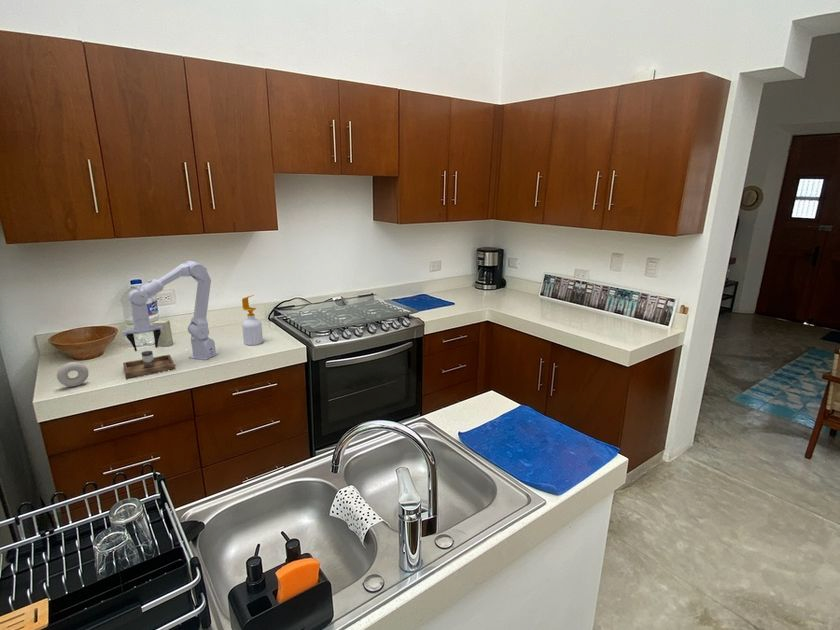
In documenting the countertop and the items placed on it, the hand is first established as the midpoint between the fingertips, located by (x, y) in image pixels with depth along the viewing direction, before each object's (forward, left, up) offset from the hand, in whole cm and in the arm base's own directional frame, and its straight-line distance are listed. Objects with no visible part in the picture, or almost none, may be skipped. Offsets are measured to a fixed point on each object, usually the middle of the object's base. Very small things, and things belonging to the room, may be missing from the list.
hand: (146, 348), depth 194 cm
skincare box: (+17, -27, -9) cm, 33 cm away
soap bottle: (-23, -42, -9) cm, 49 cm away
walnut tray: (0, 0, -9) cm, 9 cm away
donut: (+14, +22, -9) cm, 28 cm away
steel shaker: (0, 0, -9) cm, 9 cm away
